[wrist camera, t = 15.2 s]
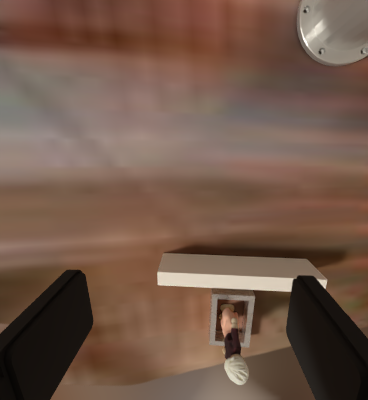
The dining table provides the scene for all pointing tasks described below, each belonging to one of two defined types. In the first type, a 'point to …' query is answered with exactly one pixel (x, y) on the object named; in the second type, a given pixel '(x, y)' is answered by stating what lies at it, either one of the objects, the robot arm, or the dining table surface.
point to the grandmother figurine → (233, 345)
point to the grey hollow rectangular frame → (248, 295)
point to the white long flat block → (234, 271)
